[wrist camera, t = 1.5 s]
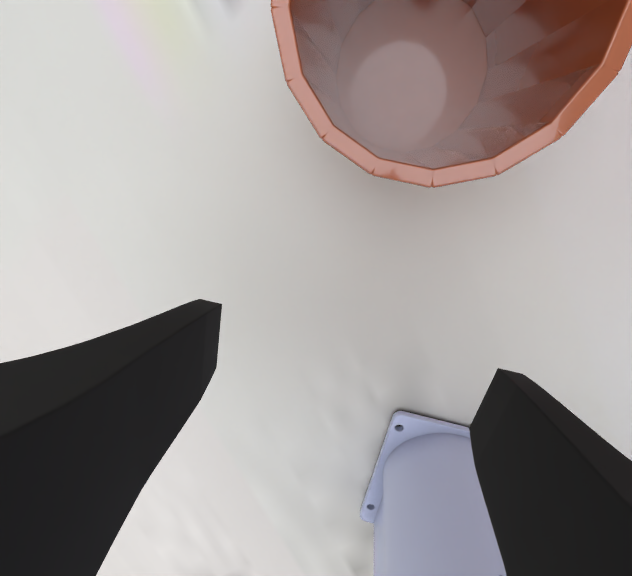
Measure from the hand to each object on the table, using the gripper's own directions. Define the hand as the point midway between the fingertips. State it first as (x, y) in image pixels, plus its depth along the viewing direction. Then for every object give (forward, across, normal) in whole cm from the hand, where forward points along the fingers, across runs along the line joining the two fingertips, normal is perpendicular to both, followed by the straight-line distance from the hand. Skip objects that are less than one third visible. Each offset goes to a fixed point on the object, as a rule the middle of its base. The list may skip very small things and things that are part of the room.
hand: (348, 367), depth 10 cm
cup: (+11, 0, -8) cm, 13 cm away
